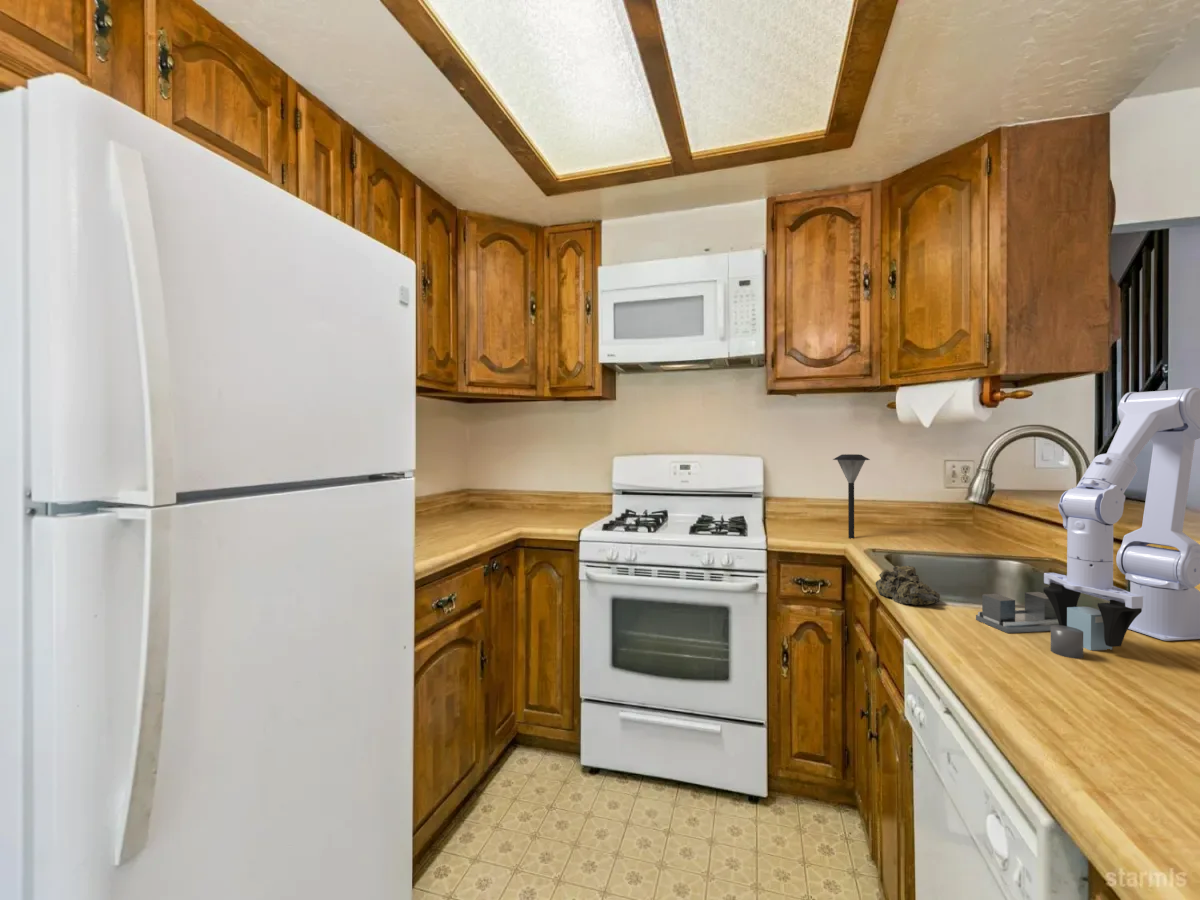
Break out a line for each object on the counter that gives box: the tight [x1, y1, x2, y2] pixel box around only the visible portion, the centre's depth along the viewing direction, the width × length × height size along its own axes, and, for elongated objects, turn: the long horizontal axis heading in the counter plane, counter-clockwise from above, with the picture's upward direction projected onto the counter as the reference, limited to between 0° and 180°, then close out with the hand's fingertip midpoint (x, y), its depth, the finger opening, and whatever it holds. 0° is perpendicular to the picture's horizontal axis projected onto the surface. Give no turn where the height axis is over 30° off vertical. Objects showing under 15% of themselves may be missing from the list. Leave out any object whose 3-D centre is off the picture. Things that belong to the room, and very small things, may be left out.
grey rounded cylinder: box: [1050, 625, 1084, 659], centre depth 85 cm, size 4×4×4 cm
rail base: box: [975, 591, 1059, 634], centre depth 98 cm, size 12×7×6 cm, turn 95°
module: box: [1067, 606, 1113, 651], centre depth 88 cm, size 4×4×6 cm
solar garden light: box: [832, 453, 871, 539], centre depth 183 cm, size 12×12×30 cm
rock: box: [874, 565, 941, 606], centre depth 115 cm, size 13×10×10 cm
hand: (1089, 636), depth 88 cm, fingers open, 7 cm apart
